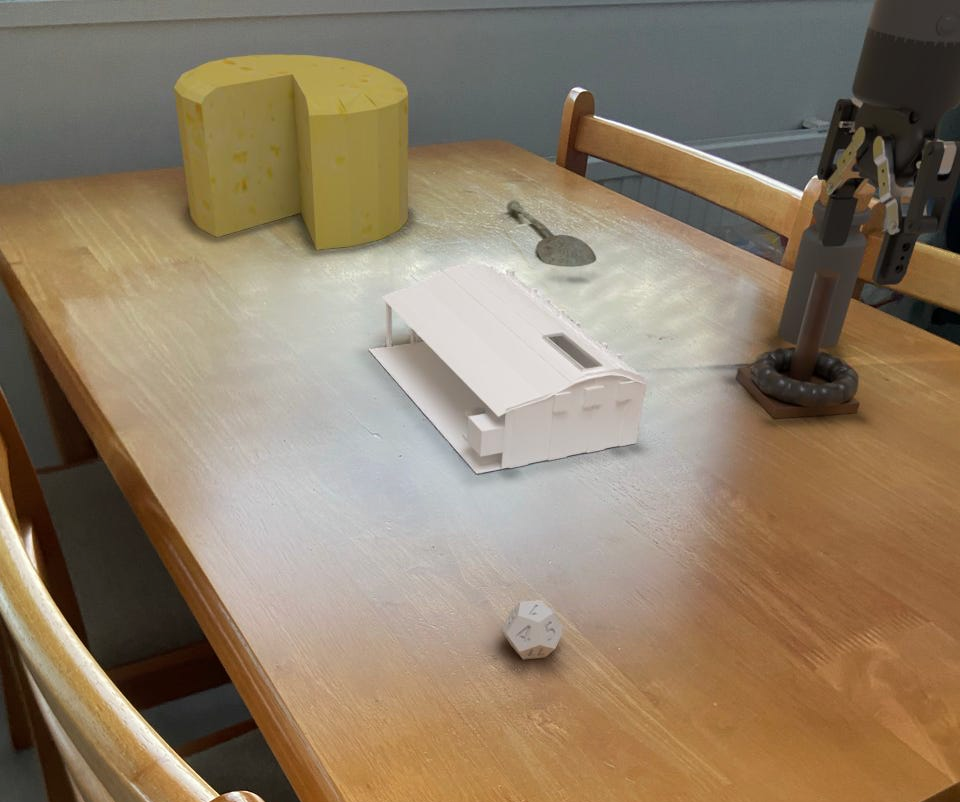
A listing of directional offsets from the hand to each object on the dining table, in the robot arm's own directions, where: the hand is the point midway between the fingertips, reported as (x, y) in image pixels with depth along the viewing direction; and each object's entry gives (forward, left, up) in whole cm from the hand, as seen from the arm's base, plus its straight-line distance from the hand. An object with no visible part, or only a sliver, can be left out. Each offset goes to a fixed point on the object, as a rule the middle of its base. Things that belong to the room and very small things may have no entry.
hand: (857, 263), depth 80 cm
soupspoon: (+12, -45, -13) cm, 48 cm away
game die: (+33, +26, -13) cm, 44 cm away
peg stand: (0, -4, -13) cm, 14 cm away
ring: (0, -3, -11) cm, 12 cm away
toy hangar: (+27, -8, -13) cm, 31 cm away
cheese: (+39, -58, -13) cm, 71 cm away
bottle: (-6, -14, -13) cm, 20 cm away
